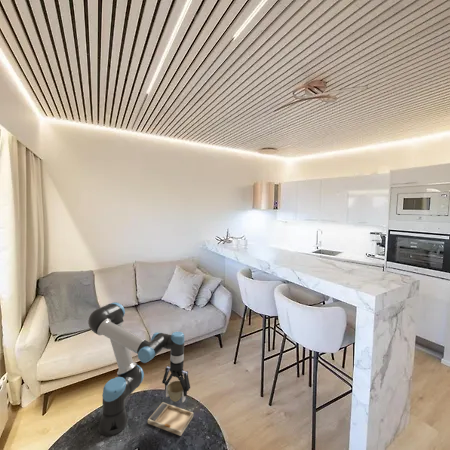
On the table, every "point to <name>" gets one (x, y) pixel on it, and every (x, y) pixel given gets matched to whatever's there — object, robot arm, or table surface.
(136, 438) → the table surface
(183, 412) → the wooden tray
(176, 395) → the flower pot
